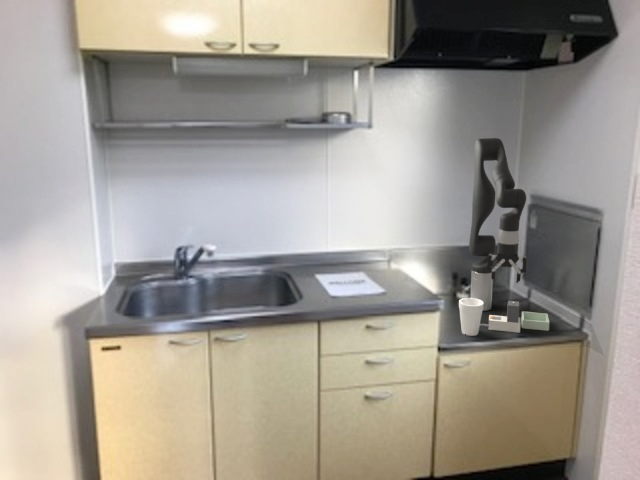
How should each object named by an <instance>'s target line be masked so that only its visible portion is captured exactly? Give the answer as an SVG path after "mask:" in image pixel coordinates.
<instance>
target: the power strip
mask: <svg viewBox="0 0 640 480" xmlns="http://www.w3.org/2000/svg"><path fill="white" fill-rule="evenodd" d="M521 325H522V322H521V317H519V318H518V323H514V322H507V315H504V316H503V315H496V314H495V315H494V314H493V315H492V314H489V316H488V324H487V323H486V324H485V323H480V326H479V327H483V328H487V329H488V330H490V331H498V332H500V331H501V332H508V333H517V334H519V333H521Z"/></svg>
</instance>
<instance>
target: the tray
mask: <svg viewBox="0 0 640 480" xmlns="http://www.w3.org/2000/svg"><path fill="white" fill-rule="evenodd" d="M520 322H521V328H522V329H526V330H538V331H539V330H540V331H546V332H547V331H548V332H549V331H550V319H549V314H548V313H545V312H544V313H542V312H532V311H521V317H520Z"/></svg>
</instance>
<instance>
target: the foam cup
mask: <svg viewBox="0 0 640 480" xmlns="http://www.w3.org/2000/svg"><path fill="white" fill-rule="evenodd" d="M483 304H484V303H483V301H482V300H479V299H475V298H470V297H463V298H461V299H459V300H458V308H459V318H460V327H461V333H462V335H465V334H466V335H465V336H469V337H470V336H473V337H474V336H477V335H479V331H480V327H481V326H480V324H481V320H482V315H483V311H482V310H483Z"/></svg>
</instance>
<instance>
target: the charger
mask: <svg viewBox="0 0 640 480" xmlns="http://www.w3.org/2000/svg"><path fill="white" fill-rule="evenodd" d="M519 315H520V302H519V301H514V300H507V310H506V317H507V322H514V323H518V318H520V317H519Z"/></svg>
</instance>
